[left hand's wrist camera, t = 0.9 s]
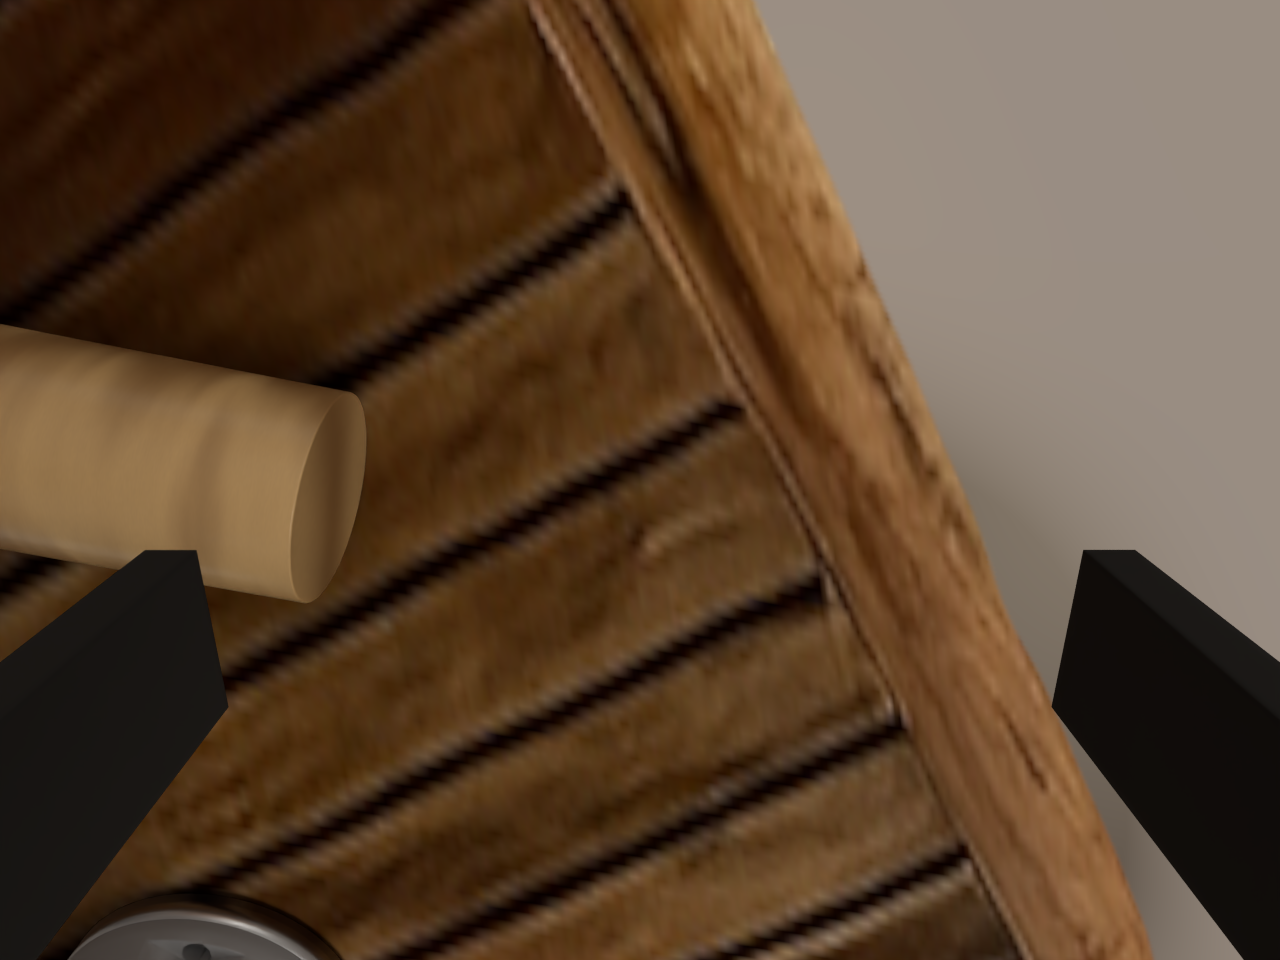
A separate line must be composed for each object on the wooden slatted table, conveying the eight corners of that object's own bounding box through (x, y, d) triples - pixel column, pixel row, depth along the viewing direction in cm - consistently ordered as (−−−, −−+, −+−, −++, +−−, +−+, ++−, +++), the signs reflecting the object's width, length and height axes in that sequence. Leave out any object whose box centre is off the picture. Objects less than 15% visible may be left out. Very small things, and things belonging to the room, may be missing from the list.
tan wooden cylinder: (374, 369, 33) (297, 429, 26) (358, 546, 35) (284, 645, 28) (-244, 248, 31) (-511, 274, 24) (-212, 442, 34) (-444, 518, 27)
